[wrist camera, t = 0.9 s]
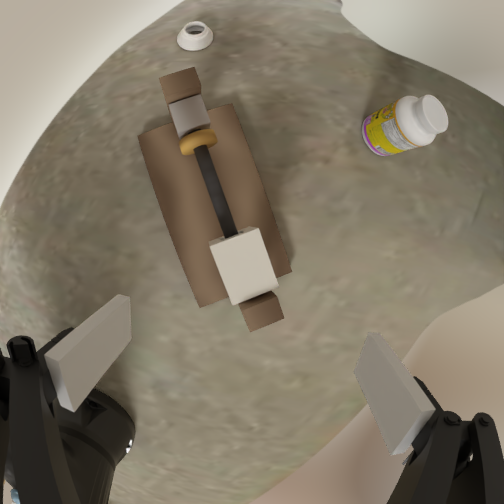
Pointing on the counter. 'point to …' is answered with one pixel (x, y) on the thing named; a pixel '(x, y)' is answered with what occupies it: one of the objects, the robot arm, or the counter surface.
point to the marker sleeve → (244, 264)
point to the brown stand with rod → (210, 192)
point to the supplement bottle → (404, 125)
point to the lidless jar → (195, 36)
